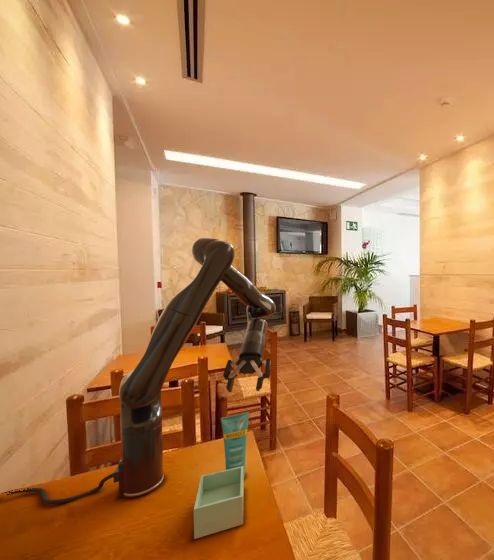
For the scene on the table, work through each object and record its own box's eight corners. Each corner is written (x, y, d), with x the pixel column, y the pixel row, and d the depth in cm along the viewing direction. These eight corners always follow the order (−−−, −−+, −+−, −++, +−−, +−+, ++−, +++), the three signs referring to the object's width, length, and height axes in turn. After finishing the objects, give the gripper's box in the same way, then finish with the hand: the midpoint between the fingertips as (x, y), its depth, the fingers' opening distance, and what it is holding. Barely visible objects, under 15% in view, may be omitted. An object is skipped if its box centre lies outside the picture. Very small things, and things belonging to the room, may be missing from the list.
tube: (222, 488, 85) (221, 421, 84) (220, 478, 89) (219, 414, 88) (251, 478, 89) (250, 414, 88) (247, 469, 93) (247, 407, 92)
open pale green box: (194, 539, 69) (193, 509, 68) (201, 501, 80) (201, 475, 80) (243, 524, 73) (242, 496, 73) (243, 490, 84) (243, 465, 84)
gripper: (229, 340, 103) (216, 386, 92) (272, 339, 105) (264, 384, 94) (234, 351, 108) (223, 396, 98) (275, 350, 110) (268, 394, 99)
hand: (243, 390), depth 96 cm, fingers open, 8 cm apart
